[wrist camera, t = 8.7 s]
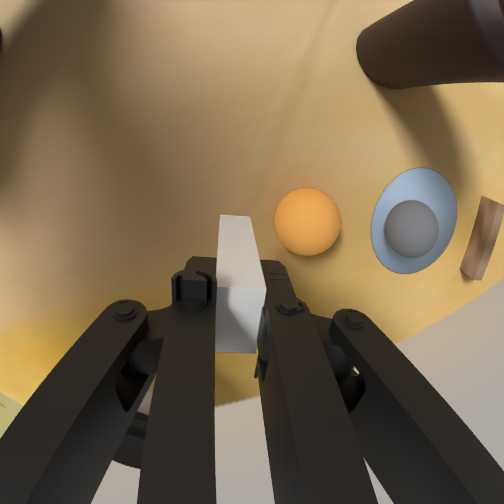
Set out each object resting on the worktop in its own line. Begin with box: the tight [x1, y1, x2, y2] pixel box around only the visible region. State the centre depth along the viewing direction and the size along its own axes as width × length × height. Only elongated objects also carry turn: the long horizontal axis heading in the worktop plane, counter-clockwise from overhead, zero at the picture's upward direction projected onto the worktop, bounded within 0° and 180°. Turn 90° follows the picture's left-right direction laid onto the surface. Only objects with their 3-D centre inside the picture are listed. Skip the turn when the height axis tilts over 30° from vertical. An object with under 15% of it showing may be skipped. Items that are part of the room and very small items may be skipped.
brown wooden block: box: [460, 196, 504, 280], centre depth 26 cm, size 10×2×3 cm, turn 174°
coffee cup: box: [112, 375, 156, 469], centre depth 24 cm, size 9×9×15 cm
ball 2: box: [385, 200, 439, 258], centre depth 24 cm, size 6×6×6 cm
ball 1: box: [274, 188, 341, 256], centre depth 23 cm, size 6×6×6 cm
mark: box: [371, 168, 457, 274], centre depth 26 cm, size 12×12×1 cm
